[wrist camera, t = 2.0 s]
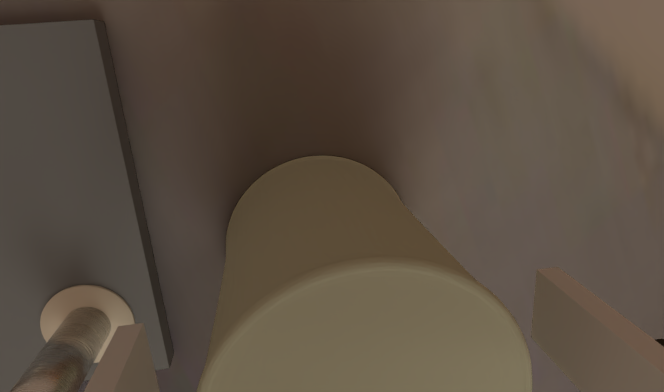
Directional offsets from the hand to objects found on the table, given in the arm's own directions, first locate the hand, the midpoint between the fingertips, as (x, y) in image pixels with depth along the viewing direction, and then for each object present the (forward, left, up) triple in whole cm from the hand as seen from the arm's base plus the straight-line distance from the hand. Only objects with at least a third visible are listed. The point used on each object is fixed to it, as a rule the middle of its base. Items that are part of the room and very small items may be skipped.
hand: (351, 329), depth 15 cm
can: (0, 0, -8) cm, 8 cm away
